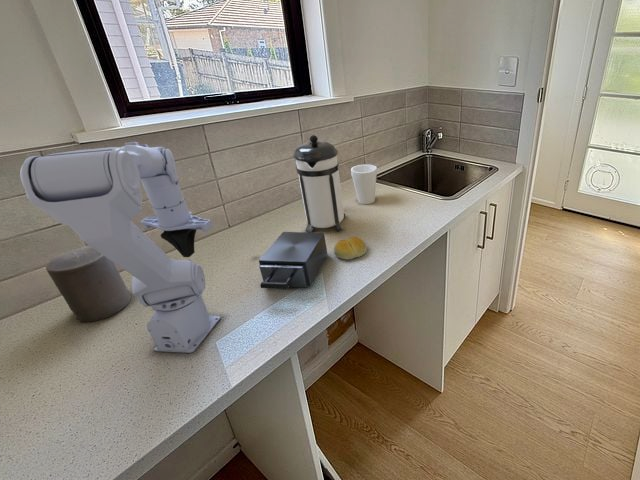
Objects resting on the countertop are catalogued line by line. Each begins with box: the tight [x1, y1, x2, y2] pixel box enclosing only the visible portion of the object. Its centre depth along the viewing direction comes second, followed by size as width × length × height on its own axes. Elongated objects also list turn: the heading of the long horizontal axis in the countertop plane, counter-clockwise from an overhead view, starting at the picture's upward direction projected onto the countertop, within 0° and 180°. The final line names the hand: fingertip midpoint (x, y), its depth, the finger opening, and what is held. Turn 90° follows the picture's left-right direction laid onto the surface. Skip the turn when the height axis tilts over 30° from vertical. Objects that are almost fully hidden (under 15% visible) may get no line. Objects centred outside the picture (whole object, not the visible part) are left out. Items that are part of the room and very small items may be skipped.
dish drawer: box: [259, 263, 308, 290], centre depth 84 cm, size 17×10×6 cm, turn 177°
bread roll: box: [333, 236, 368, 260], centre depth 96 cm, size 8×9×4 cm
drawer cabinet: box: [258, 231, 329, 288], centre depth 88 cm, size 14×12×8 cm
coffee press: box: [293, 134, 346, 233], centre depth 106 cm, size 17×16×30 cm
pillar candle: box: [45, 245, 132, 323], centre depth 73 cm, size 10×10×15 cm
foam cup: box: [350, 163, 378, 205], centre depth 125 cm, size 10×9×13 cm
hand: (189, 254), depth 77 cm, fingers closed
